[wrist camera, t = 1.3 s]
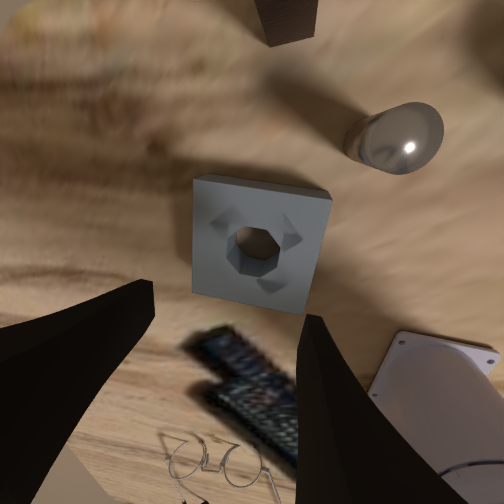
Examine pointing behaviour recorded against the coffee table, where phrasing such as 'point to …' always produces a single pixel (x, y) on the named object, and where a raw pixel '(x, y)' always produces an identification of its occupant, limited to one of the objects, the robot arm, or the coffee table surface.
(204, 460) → the eyeglasses
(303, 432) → the robot arm
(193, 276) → the socket block
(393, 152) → the round bit
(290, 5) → the square bit
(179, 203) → the coffee table surface
